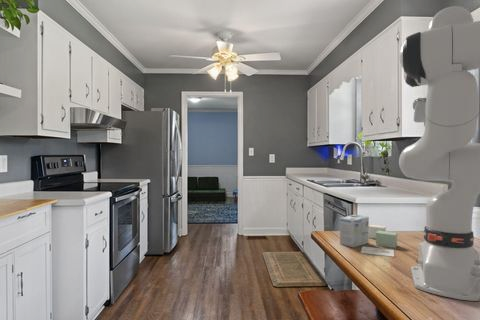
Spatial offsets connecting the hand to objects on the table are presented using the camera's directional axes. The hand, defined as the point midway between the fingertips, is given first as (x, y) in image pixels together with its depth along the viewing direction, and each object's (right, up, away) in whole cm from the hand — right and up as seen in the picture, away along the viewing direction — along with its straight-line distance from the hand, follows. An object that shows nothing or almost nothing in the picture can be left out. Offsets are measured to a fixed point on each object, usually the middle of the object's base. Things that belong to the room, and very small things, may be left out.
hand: (444, 133), depth 117 cm
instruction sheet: (-25, -44, -1) cm, 50 cm away
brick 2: (-18, -44, +7) cm, 48 cm away
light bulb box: (-30, -44, +10) cm, 54 cm away
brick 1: (-17, -43, +19) cm, 50 cm away
